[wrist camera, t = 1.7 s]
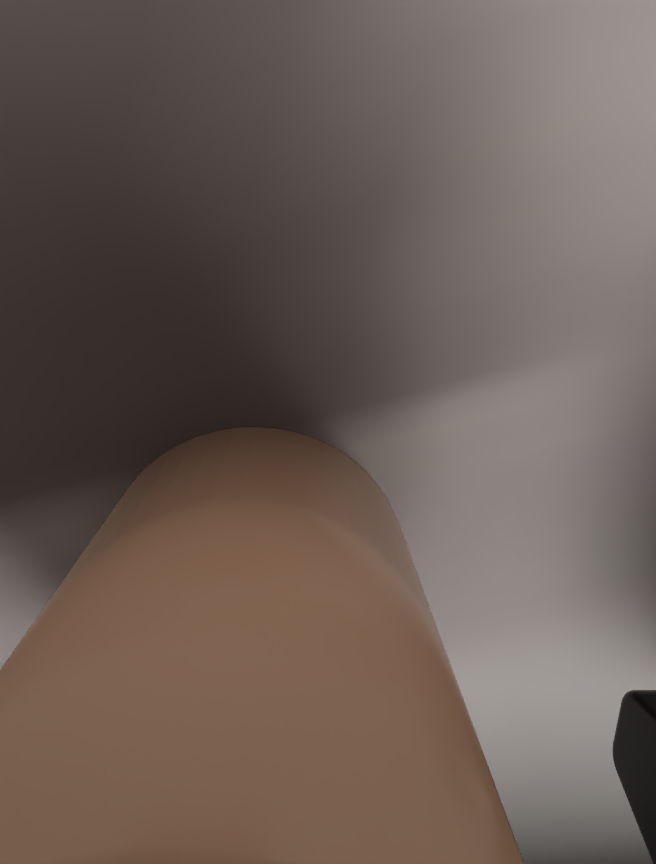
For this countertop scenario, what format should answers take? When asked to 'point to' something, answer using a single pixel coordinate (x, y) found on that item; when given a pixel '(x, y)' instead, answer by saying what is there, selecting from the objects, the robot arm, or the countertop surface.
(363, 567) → the terracotta cylinder
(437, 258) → the countertop surface
